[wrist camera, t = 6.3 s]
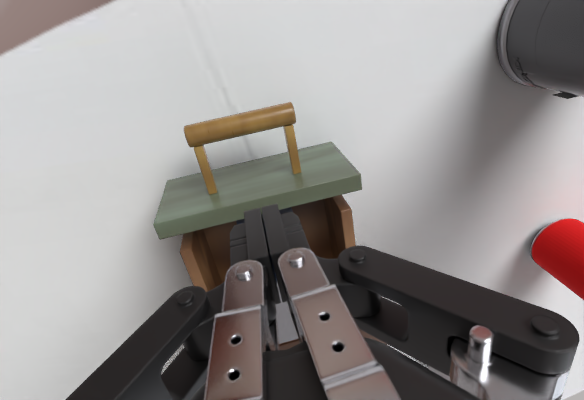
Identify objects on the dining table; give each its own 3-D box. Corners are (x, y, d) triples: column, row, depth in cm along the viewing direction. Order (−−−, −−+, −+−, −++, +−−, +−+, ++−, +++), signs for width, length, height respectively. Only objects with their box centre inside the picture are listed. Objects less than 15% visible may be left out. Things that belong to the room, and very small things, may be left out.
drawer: (144, 120, 26) (121, 152, 20) (323, 80, 27) (353, 98, 21) (217, 311, 35) (217, 372, 29) (349, 276, 36) (375, 328, 30)
